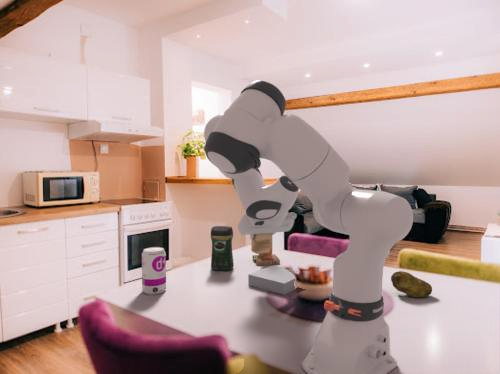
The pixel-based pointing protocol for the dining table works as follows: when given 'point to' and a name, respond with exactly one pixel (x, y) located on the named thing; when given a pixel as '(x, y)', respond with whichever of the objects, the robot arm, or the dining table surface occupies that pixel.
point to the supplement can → (153, 270)
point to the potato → (410, 284)
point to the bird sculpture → (267, 257)
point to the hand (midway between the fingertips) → (259, 237)
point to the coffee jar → (222, 248)
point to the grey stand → (273, 279)
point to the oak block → (261, 243)
